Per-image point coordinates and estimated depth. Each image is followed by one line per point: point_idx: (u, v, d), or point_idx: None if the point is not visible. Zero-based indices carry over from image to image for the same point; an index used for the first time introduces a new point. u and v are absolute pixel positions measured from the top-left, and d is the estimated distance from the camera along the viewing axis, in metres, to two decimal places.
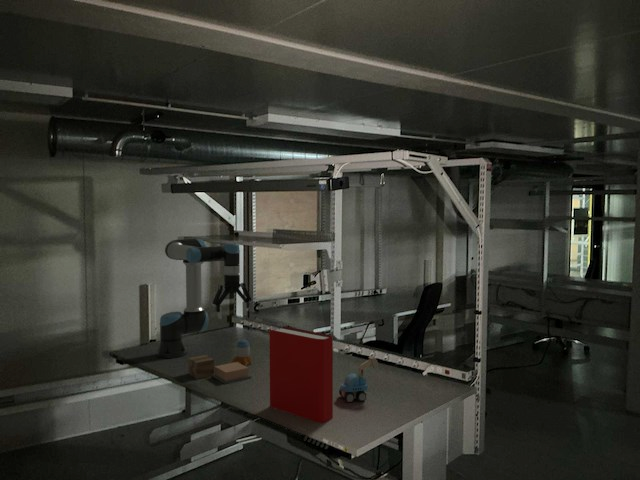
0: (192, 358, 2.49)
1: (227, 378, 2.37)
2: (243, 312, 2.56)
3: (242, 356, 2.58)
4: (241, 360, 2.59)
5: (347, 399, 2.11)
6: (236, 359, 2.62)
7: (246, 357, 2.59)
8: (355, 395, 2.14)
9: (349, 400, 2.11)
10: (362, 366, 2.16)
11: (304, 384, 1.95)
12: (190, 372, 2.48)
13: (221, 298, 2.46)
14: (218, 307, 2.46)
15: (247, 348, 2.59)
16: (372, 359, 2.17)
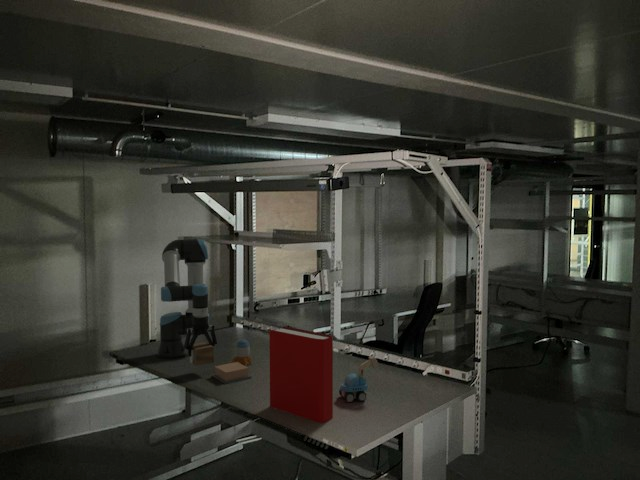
0: None
1: (227, 378, 2.37)
2: None
3: (242, 356, 2.58)
4: (241, 360, 2.59)
5: (347, 399, 2.11)
6: (236, 359, 2.62)
7: (246, 357, 2.59)
8: (355, 395, 2.14)
9: (349, 400, 2.11)
10: (362, 366, 2.16)
11: (304, 384, 1.95)
12: None
13: (191, 342, 2.45)
14: (189, 351, 2.45)
15: (247, 348, 2.59)
16: (372, 359, 2.17)
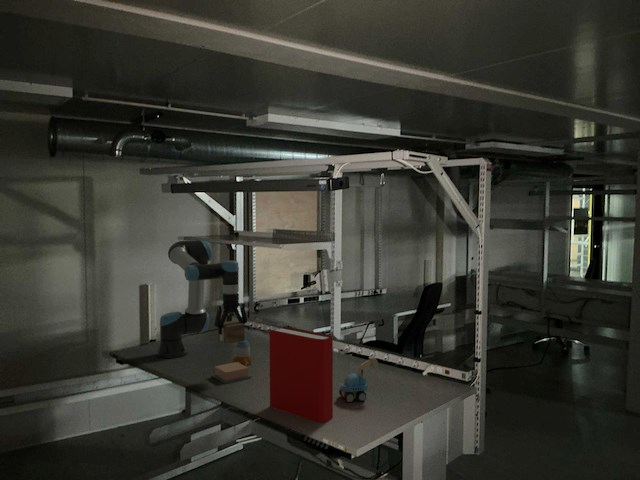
0: None
1: (227, 378, 2.37)
2: None
3: (242, 356, 2.58)
4: (241, 360, 2.59)
5: (347, 399, 2.11)
6: (236, 359, 2.62)
7: (246, 357, 2.59)
8: (355, 395, 2.14)
9: (349, 400, 2.11)
10: (362, 366, 2.16)
11: (304, 384, 1.95)
12: None
13: (222, 320, 2.40)
14: (220, 329, 2.39)
15: (247, 348, 2.59)
16: (372, 359, 2.17)
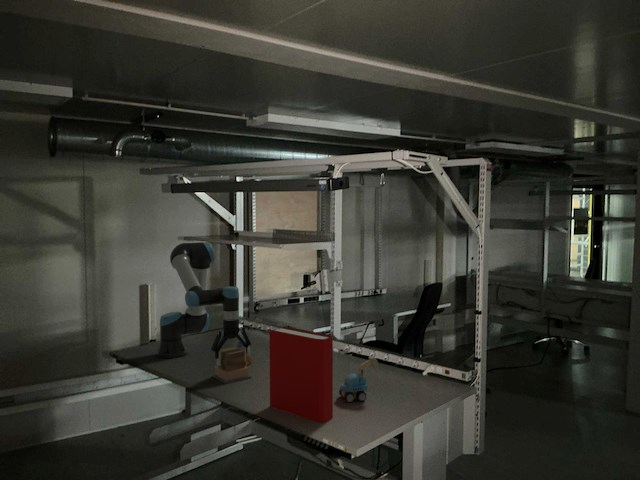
0: (222, 350, 2.45)
1: (227, 378, 2.37)
2: None
3: None
4: None
5: (347, 399, 2.11)
6: None
7: (246, 357, 2.59)
8: (355, 395, 2.14)
9: (349, 400, 2.11)
10: (362, 366, 2.16)
11: (304, 384, 1.95)
12: None
13: (220, 344, 2.40)
14: (217, 354, 2.39)
15: (247, 348, 2.59)
16: (372, 359, 2.17)
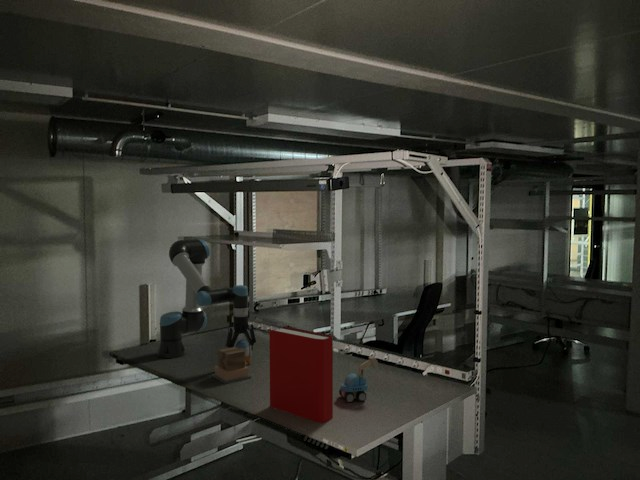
0: (222, 350, 2.45)
1: (227, 378, 2.37)
2: None
3: None
4: None
5: (347, 399, 2.11)
6: None
7: (245, 357, 2.59)
8: (355, 395, 2.14)
9: (349, 400, 2.11)
10: (362, 366, 2.16)
11: (304, 384, 1.95)
12: (220, 364, 2.44)
13: (233, 340, 2.58)
14: None
15: (246, 348, 2.59)
16: (372, 359, 2.17)
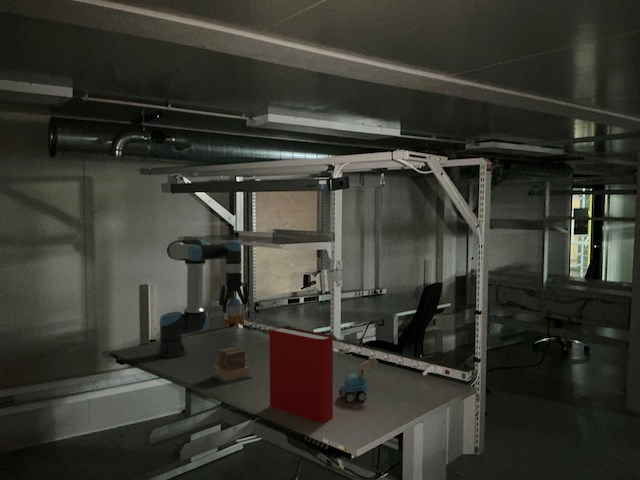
0: (222, 350, 2.45)
1: (227, 378, 2.37)
2: (241, 314, 2.51)
3: (234, 315, 2.44)
4: (232, 319, 2.44)
5: (347, 399, 2.11)
6: None
7: (238, 316, 2.45)
8: (355, 395, 2.14)
9: (349, 400, 2.11)
10: (362, 366, 2.16)
11: (304, 384, 1.95)
12: (220, 364, 2.44)
13: (226, 298, 2.44)
14: (224, 308, 2.44)
15: (239, 307, 2.45)
16: (372, 359, 2.17)
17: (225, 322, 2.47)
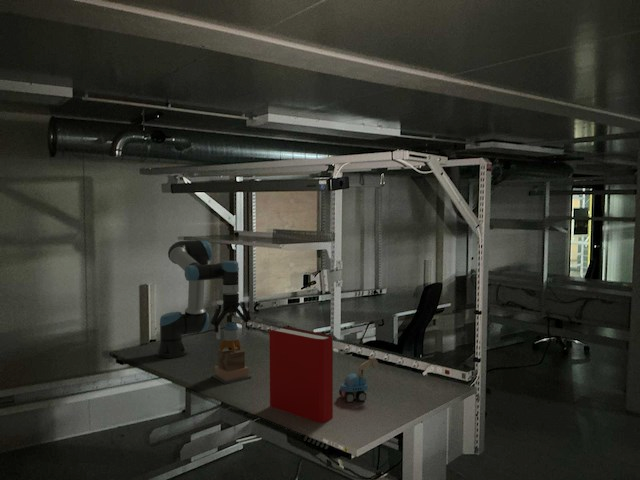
0: (222, 350, 2.45)
1: (227, 378, 2.37)
2: (242, 332, 2.48)
3: (230, 340, 2.40)
4: (229, 344, 2.40)
5: (347, 399, 2.11)
6: (224, 343, 2.43)
7: (234, 341, 2.41)
8: (355, 395, 2.14)
9: (349, 400, 2.11)
10: (362, 366, 2.16)
11: (304, 384, 1.95)
12: (220, 364, 2.44)
13: (219, 318, 2.39)
14: (216, 327, 2.38)
15: (235, 331, 2.40)
16: (372, 359, 2.17)
17: (222, 346, 2.43)
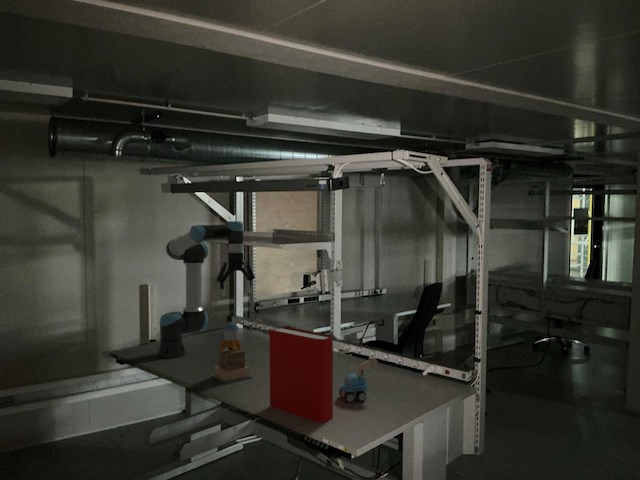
0: (222, 350, 2.45)
1: (227, 378, 2.37)
2: (247, 290, 2.58)
3: (230, 340, 2.40)
4: (229, 344, 2.40)
5: (347, 399, 2.11)
6: (224, 343, 2.43)
7: (235, 341, 2.41)
8: (355, 395, 2.14)
9: (349, 400, 2.11)
10: (362, 366, 2.16)
11: (304, 384, 1.95)
12: (220, 364, 2.44)
13: (225, 275, 2.48)
14: (222, 284, 2.48)
15: (236, 331, 2.41)
16: (372, 359, 2.17)
17: (222, 346, 2.43)
